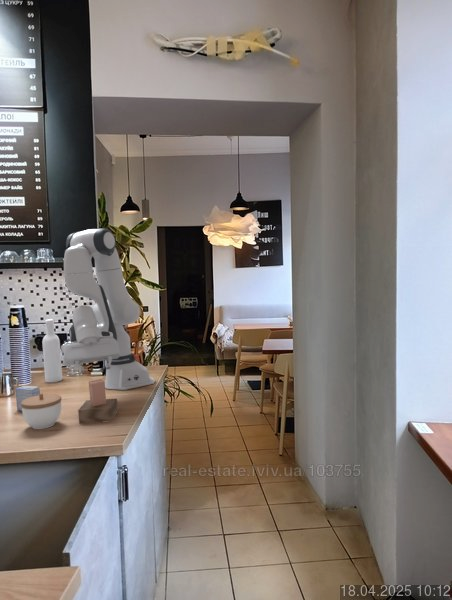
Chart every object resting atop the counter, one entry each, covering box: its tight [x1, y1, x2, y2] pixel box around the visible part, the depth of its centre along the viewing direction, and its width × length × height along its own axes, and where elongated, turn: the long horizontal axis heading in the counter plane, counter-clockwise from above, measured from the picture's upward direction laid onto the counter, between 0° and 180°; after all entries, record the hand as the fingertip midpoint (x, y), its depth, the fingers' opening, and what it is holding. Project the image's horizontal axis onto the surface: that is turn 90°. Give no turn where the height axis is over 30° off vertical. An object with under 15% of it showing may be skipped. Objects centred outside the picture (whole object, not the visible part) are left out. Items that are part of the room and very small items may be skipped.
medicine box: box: [14, 385, 41, 412], centre depth 162 cm, size 8×4×9 cm, turn 71°
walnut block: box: [77, 398, 118, 424], centre depth 150 cm, size 11×11×5 cm
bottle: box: [41, 318, 63, 384], centre depth 205 cm, size 8×8×30 cm
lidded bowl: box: [21, 392, 62, 430], centre depth 144 cm, size 13×13×11 cm
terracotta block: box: [88, 379, 107, 406], centre depth 150 cm, size 4×4×8 cm
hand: (95, 370), depth 153 cm, fingers open, 8 cm apart
